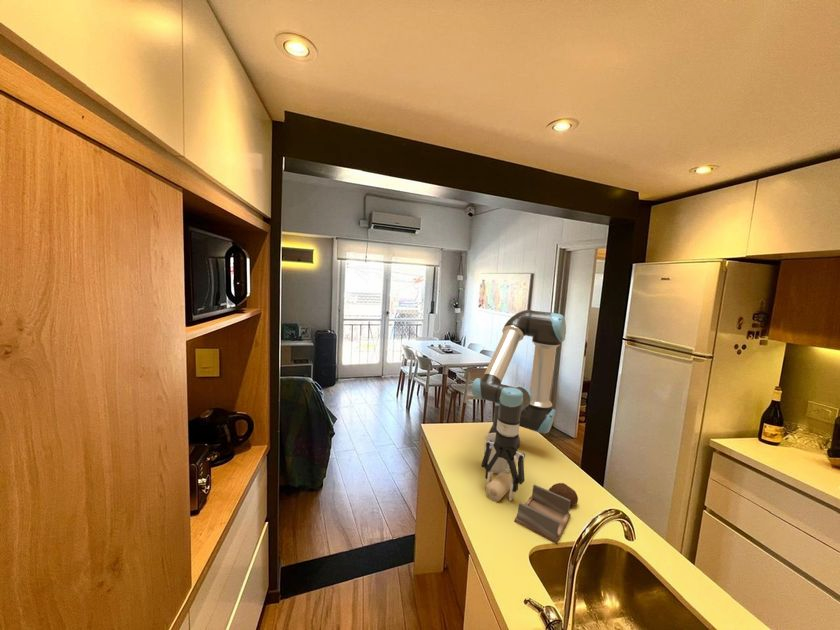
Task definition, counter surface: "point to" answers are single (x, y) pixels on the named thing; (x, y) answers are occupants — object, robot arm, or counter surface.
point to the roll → (499, 486)
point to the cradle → (544, 513)
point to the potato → (565, 492)
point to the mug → (501, 463)
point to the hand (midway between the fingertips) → (499, 493)
